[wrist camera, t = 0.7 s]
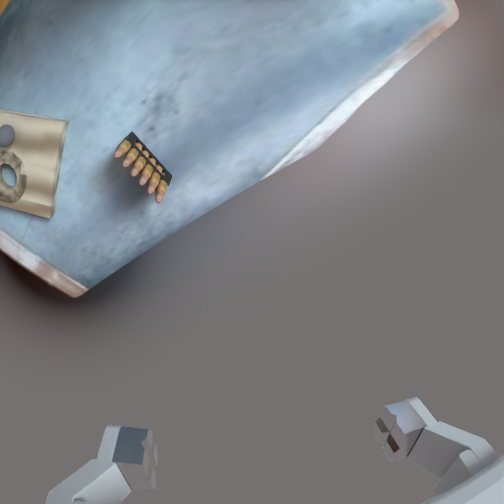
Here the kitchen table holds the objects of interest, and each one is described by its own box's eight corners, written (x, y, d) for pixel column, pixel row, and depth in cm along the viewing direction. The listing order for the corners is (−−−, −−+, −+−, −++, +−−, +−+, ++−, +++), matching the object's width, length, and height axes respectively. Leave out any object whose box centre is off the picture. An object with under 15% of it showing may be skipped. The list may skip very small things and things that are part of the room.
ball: (3, 121, 36) (-8, 125, 32) (20, 124, 37) (8, 128, 34) (1, 142, 37) (-11, 148, 34) (17, 145, 39) (5, 151, 35)
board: (-20, 106, 34) (-28, 108, 32) (68, 120, 41) (63, 123, 39) (-27, 191, 42) (-33, 195, 40) (54, 212, 49) (49, 218, 47)
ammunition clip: (172, 175, 51) (167, 203, 41) (164, 182, 51) (157, 211, 41) (132, 131, 45) (115, 147, 35) (124, 138, 46) (105, 156, 36)
